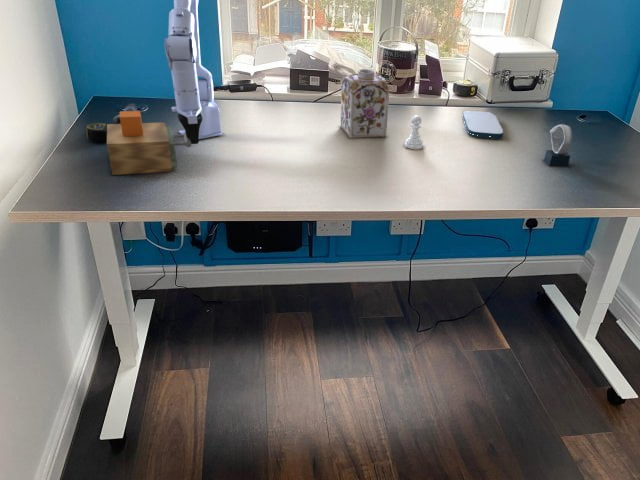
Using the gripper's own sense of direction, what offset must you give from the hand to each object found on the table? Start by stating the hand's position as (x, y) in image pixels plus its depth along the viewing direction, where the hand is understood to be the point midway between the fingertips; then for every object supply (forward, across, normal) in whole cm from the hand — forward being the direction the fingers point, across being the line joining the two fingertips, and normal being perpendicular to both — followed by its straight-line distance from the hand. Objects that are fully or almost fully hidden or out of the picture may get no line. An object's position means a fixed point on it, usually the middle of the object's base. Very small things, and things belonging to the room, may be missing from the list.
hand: (193, 143), depth 152 cm
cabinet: (+4, 0, -13) cm, 14 cm away
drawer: (+3, 0, -9) cm, 10 cm away
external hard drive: (+8, -13, +92) cm, 93 cm away
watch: (+8, +20, +98) cm, 100 cm away
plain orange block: (-4, 0, -14) cm, 14 cm away
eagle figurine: (+4, -27, -15) cm, 31 cm away
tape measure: (+4, -19, -22) cm, 29 cm away
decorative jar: (+6, -15, +51) cm, 54 cm away
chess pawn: (+7, 0, +62) cm, 62 cm away
